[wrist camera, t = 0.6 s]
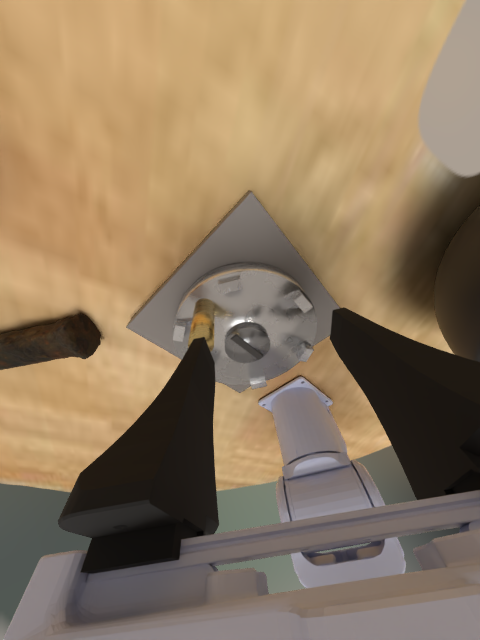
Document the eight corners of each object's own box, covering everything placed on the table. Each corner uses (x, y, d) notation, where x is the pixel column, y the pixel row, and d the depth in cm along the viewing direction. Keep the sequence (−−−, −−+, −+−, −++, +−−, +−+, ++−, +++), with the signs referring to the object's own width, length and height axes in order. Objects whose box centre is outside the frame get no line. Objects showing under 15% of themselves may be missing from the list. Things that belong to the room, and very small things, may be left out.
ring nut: (332, 324, 21) (370, 374, 16) (240, 384, 26) (246, 439, 20) (250, 226, 15) (267, 254, 10) (148, 328, 19) (122, 386, 14)
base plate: (343, 314, 23) (351, 323, 21) (239, 383, 28) (240, 394, 27) (248, 190, 15) (251, 192, 14) (131, 318, 21) (125, 328, 19)
